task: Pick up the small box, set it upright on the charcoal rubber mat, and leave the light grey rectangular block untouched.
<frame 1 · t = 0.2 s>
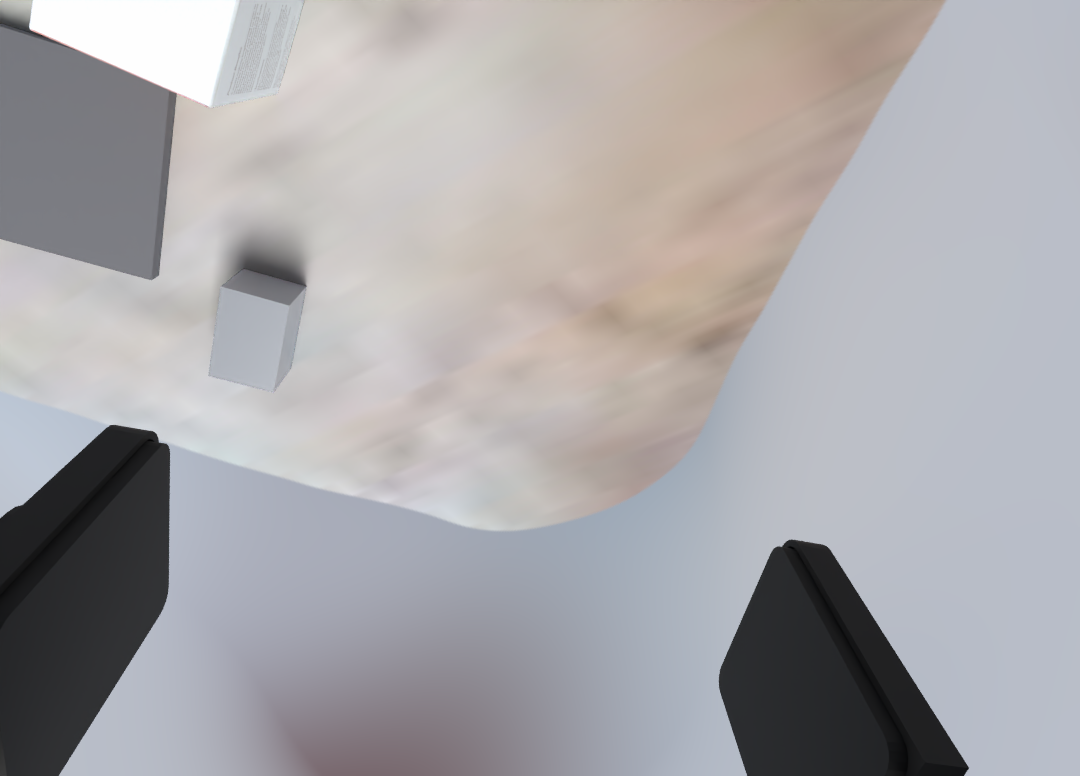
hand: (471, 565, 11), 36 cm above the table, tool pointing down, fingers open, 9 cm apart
light grey rectangular block: (268, 319, 47), on the table
charcoal mat: (62, 151, 42), on the table
small box: (224, 16, 40), on the table
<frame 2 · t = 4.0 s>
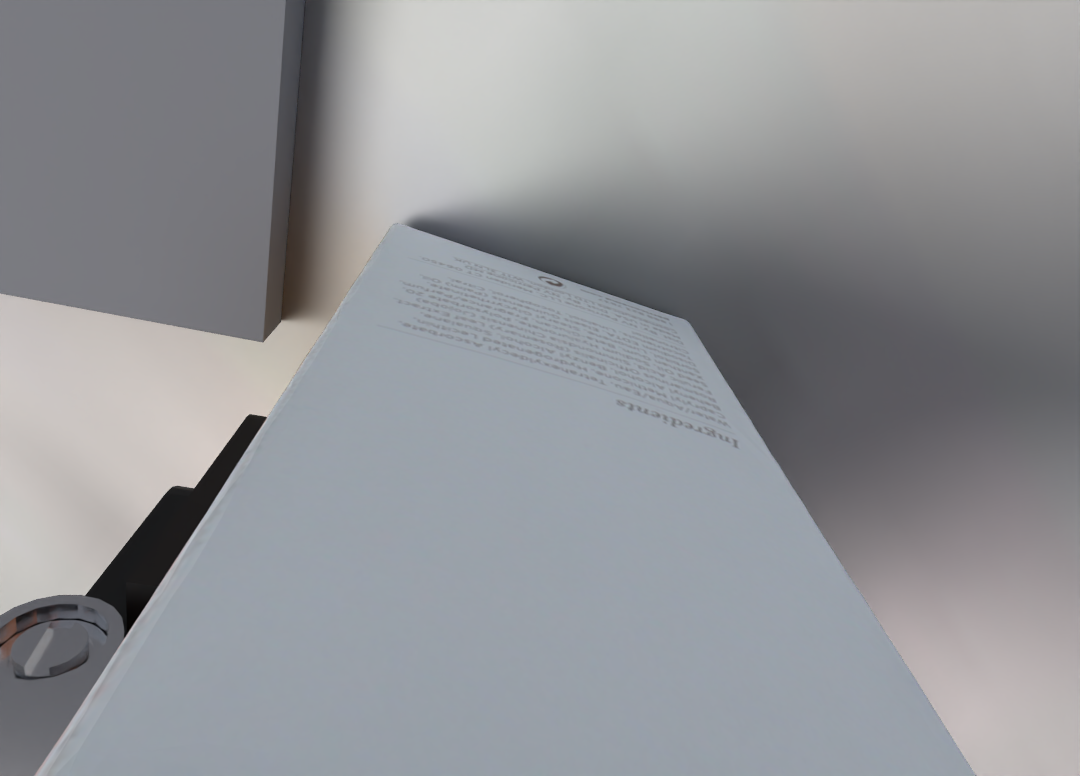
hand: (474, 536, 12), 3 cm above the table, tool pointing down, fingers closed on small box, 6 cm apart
small box: (480, 449, 14), on the table, touching gripper
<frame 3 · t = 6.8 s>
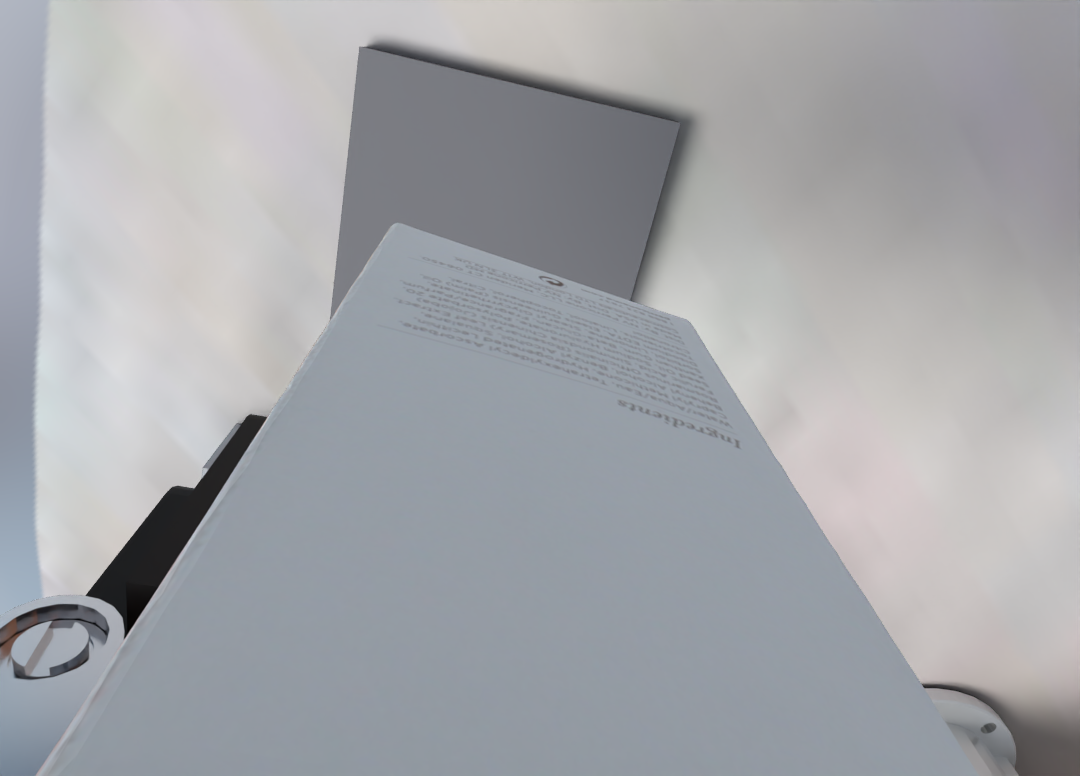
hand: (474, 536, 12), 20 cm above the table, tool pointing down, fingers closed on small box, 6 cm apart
light grey rectangular block: (296, 473, 34), on the table
charcoal mat: (493, 239, 30), on the table
small box: (481, 449, 14), point 17 cm above the table, touching gripper
when the fingers open (5 cm above the table, at t = 10.1 s): small box drops 1 cm, resting on charcoal mat.
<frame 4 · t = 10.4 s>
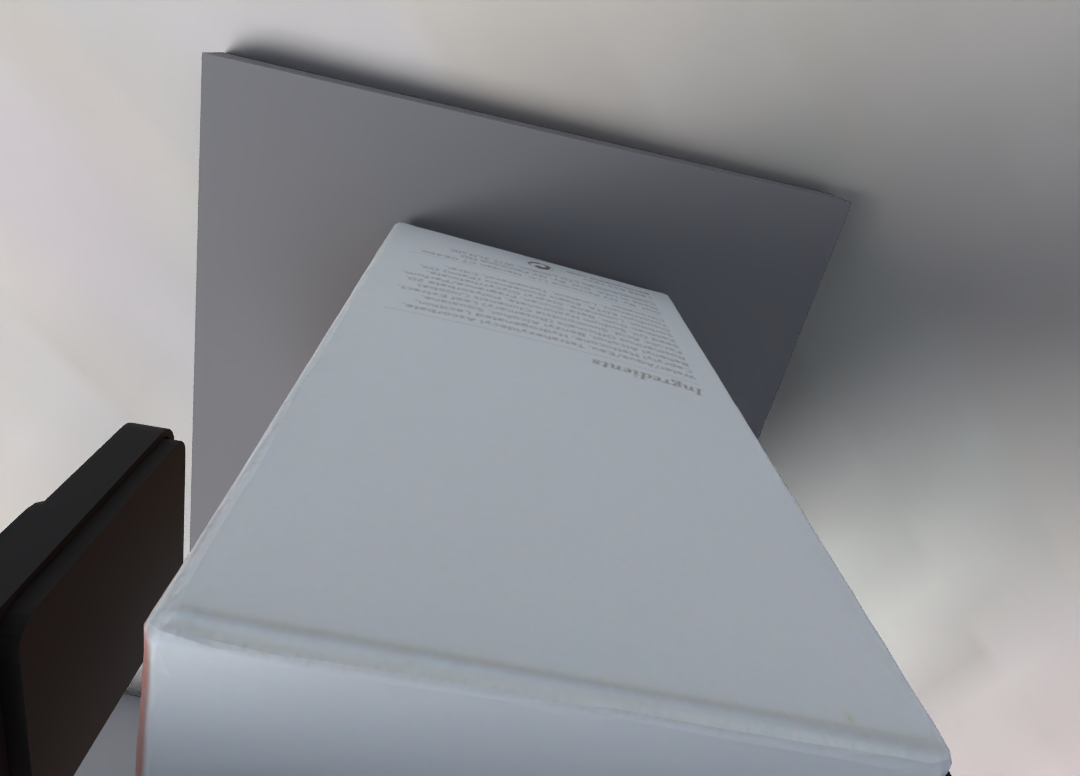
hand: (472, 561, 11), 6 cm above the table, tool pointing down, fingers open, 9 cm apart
light grey rectangular block: (164, 747, 21), on the table
charcoal mat: (484, 400, 16), on the table
small box: (488, 424, 16), point 1 cm above the table, touching charcoal mat
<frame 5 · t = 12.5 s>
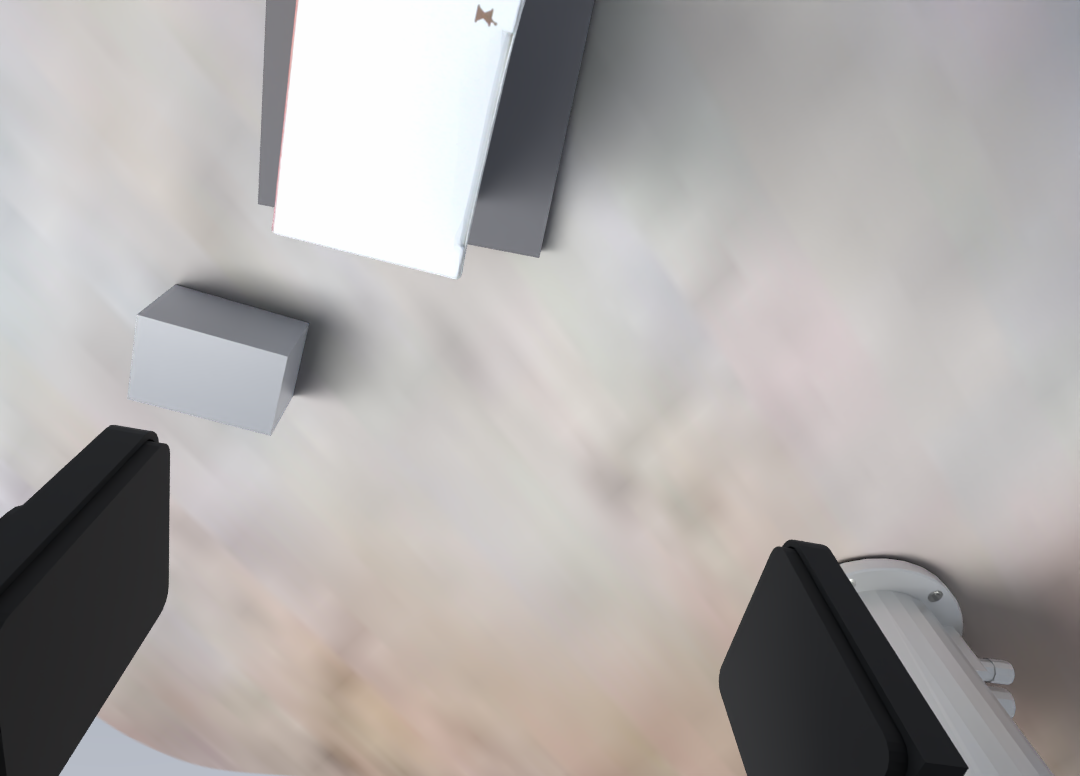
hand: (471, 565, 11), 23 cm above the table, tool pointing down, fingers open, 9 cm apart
light grey rectangular block: (237, 341, 34), on the table
charcoal mat: (423, 81, 29), on the table
small box: (424, 88, 29), point 1 cm above the table, touching charcoal mat
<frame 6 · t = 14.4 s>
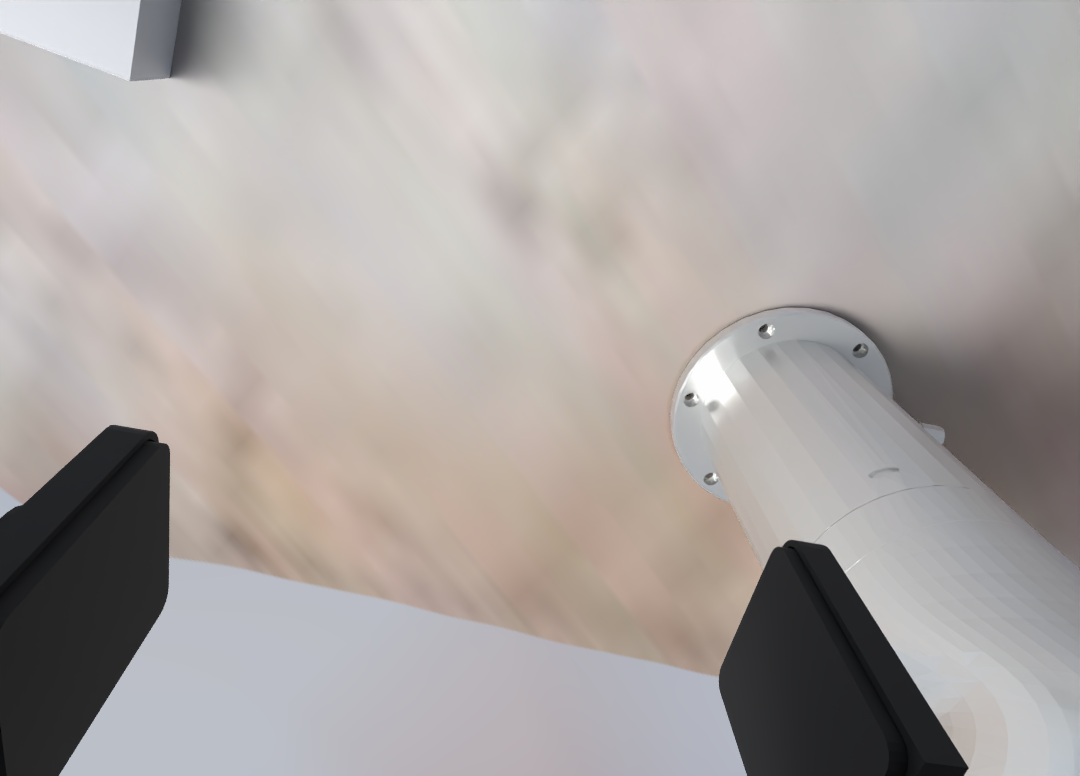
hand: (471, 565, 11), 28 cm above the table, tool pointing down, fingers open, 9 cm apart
light grey rectangular block: (109, 7, 33), on the table
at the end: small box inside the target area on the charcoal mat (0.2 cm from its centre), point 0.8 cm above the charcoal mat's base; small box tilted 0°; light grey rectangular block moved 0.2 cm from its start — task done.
